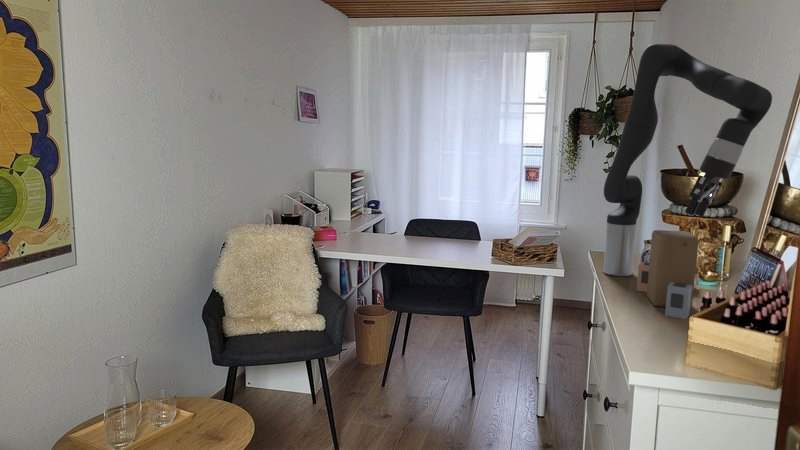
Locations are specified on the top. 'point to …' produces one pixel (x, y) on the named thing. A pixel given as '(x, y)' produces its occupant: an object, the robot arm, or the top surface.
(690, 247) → the wooden block
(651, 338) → the top surface
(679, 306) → the slate tagged block
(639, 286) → the terracotta tagged block
